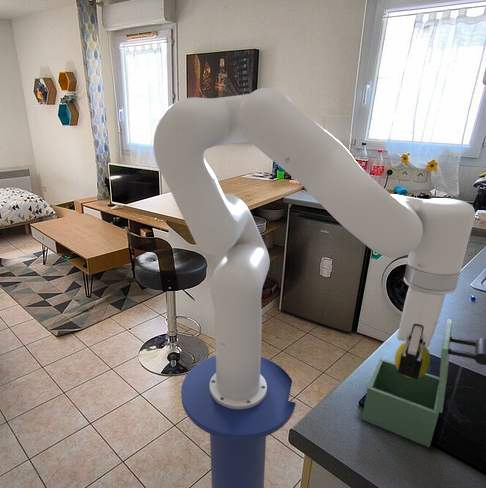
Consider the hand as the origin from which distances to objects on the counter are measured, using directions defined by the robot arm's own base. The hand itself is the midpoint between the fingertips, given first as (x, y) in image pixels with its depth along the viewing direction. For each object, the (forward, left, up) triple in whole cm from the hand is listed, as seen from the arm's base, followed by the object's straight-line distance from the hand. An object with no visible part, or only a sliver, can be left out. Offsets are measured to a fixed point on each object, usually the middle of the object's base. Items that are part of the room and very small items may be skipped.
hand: (410, 364), depth 66 cm
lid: (+4, +3, +2) cm, 5 cm away
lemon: (0, 0, -3) cm, 3 cm away
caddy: (0, 0, -12) cm, 12 cm away
